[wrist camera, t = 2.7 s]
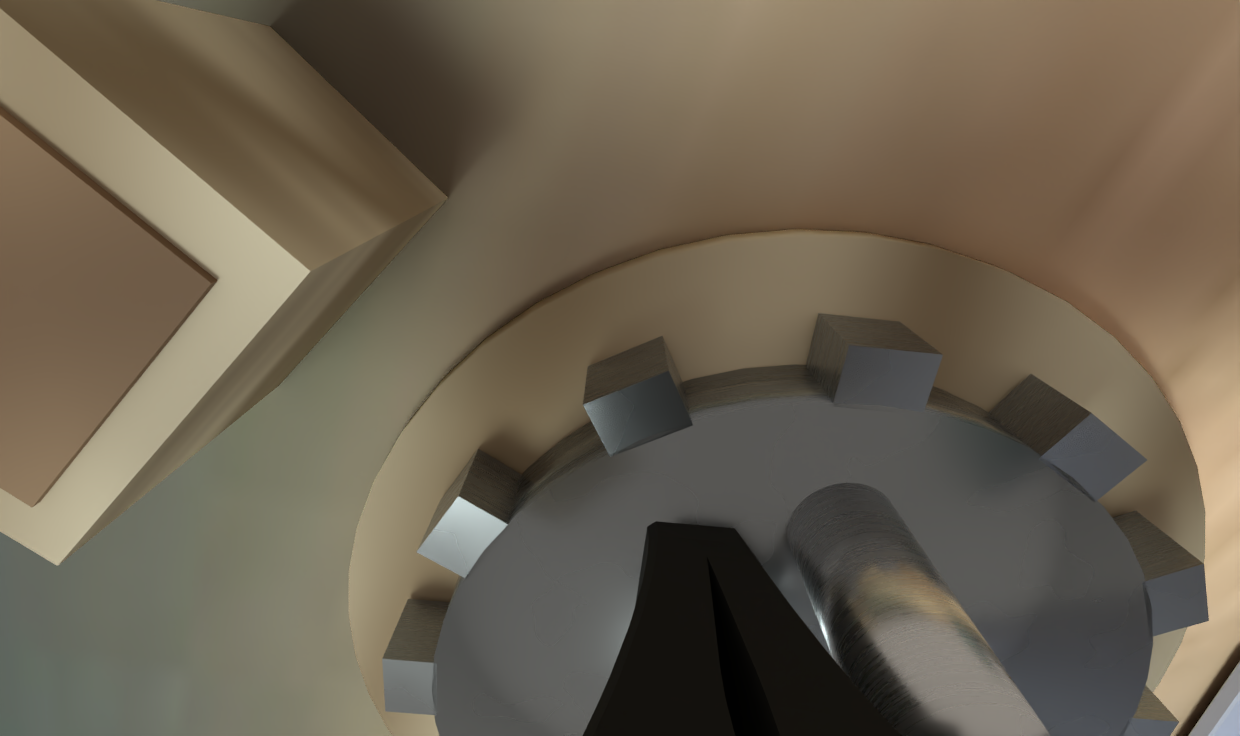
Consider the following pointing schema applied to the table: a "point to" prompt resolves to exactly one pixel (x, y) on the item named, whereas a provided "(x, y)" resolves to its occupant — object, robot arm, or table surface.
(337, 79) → the table surface
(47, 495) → the link block
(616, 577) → the sprocket
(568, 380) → the sprocket base
